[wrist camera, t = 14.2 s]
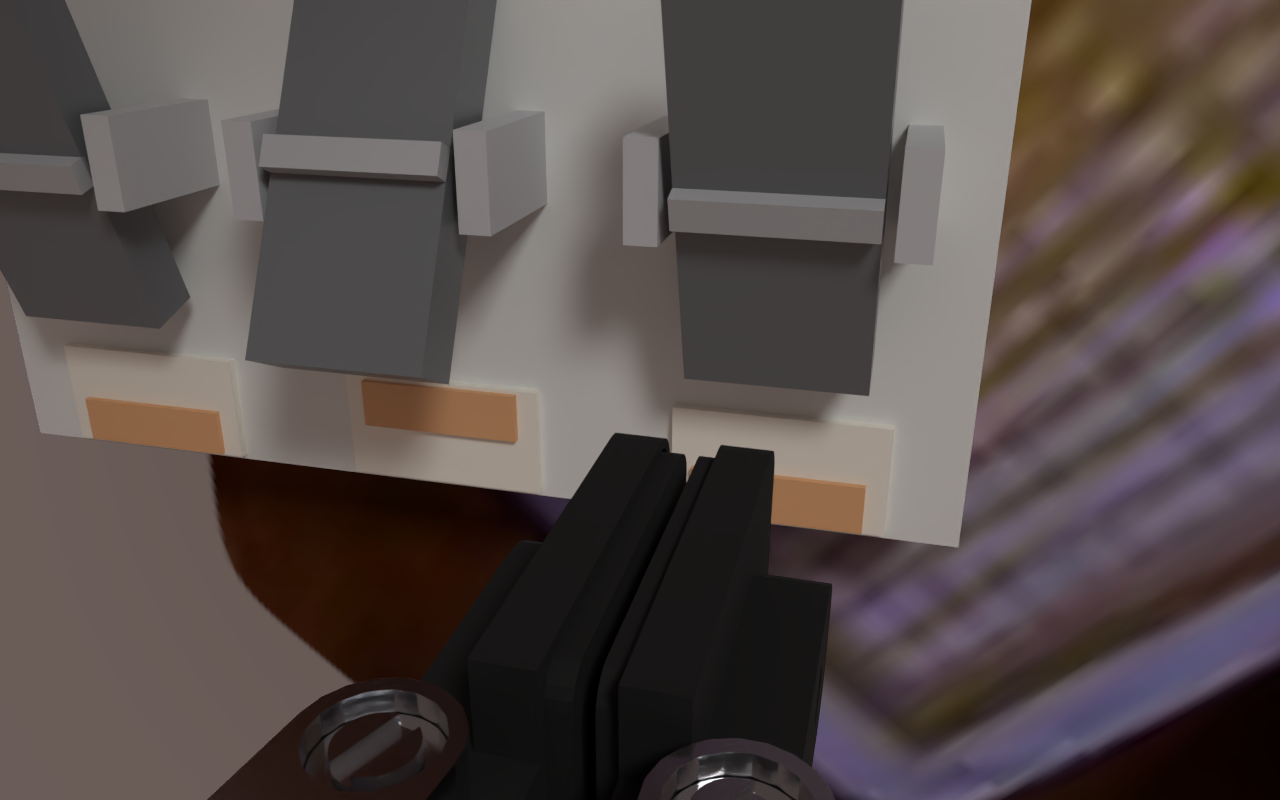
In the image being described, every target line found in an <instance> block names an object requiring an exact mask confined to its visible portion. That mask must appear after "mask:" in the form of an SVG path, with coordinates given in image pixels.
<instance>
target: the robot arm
mask: <svg viewBox="0 0 1280 800" xmlns="http://www.w3.org/2000/svg"><path fill="white" fill-rule="evenodd" d="M774 465H775V457H774V451H770V450H761V449H753V448H744V447H736V446H727V445H721V446H720V447H719V449H718V452H717V454H716V456H715V458H712V457H704V456H699V457H698V459H697V461H696V463H695V465H694V468H693V470H692V472H691V474H690V476H689V478H688V481H687V483H686V476H687V462H686V456H685V454H679V453H670V448H669V442H668V440H667V439H666V438H658V437H650V436H641V435H632V434H624V433H614V434H613V435H612V437H611V438H610V440H609V441H608V443H607V444H606V446H605V447H604V449H603V451H602V452H601V454H600V455H599V457H598V458H597V460H596V461H595V463H594V464H593V466H592V467H591V469H590V471H589V472H588V474H587V475H586V477H585V478H584V480H583V481H582V483H581V484H580V486H579V488H578V489H577V491H576V492H575V494H574V495H573V497H572V498H571V500H570V501H569V503H568V504H567V506H566V508H565V509H564V511H563V512H562V514H561V515H560V517H559V518H558V520H557V521H556V523H555V524H554V526H553V528H552V529H551V531H550V532H549V534H548V535H547V537H546V538H545V540H544V541H543V543H542V542H535V541H528V540H523V541H519V542H518V543H517V544H516V545H515V546H514V547H513V548H512V549H511V551H510V552H509V554H508V555H507V557H506V558H505V560H504V561H503V562H502V564H501V565H500V567H499V568H498V570H497V571H496V573H495V574H494V575H493V577H492V578H491V580H490V581H489V583H488V584H487V586H486V587H485V588H484V590H483V591H482V593H481V594H480V596H479V597H478V599H477V600H476V601H475V603H474V604H473V606H472V607H471V609H470V610H469V612H468V613H467V614H466V616H465V617H464V619H463V620H462V622H461V623H460V625H459V626H458V627H457V629H456V630H455V632H454V633H453V635H452V636H451V637H450V639H449V640H448V642H447V643H446V645H445V646H444V648H443V649H442V650H441V652H440V653H439V655H438V656H437V658H436V659H435V661H434V662H433V663H432V665H431V666H430V668H429V669H428V671H427V672H426V674H425V675H424V676H423V678H422V679H421V681H418V680H412V679H407V678H383V679H372V680H368V681H364V682H359V683H355V684H351V685H347V686H345V687H343V688H340V689H338V690H336V691H334V692H331V693H329V694H327V695H325V696H322V697H321V698H319V699H318V700H317V701H315V702H314V703H313V704H311V705H310V706H308V707H307V708H306V709H304V710H303V711H302V712H300V713H299V714H298V715H297V716H296V717H295V718H294V719H293V720H292V721H291V722H289V723H288V725H286V726H285V727H284V728H283V729H282V730H281V731H280V732H279V733H278V734H277V735H276V736H274V737H273V738H272V739H271V740H270V741H269V742H268V743H267V744H266V745H265V746H264V747H263V748H262V749H261V750H260V751H258V752H257V753H256V754H255V755H254V756H253V757H252V758H251V759H250V760H249V761H248V762H247V763H246V764H245V765H244V766H242V767H241V768H240V769H239V770H238V771H237V772H236V773H235V774H234V775H233V776H232V777H231V778H230V779H229V780H227V781H226V782H225V783H224V784H223V785H222V786H221V787H220V788H219V789H218V790H217V791H216V792H215V793H214V794H213V795H211V796H210V797H209V798H208V799H207V800H835V799H834V796H833V793H832V791H831V790H830V789H829V787H828V786H827V784H826V783H825V782H824V780H823V779H822V778H821V776H820V775H819V774H818V772H817V771H816V770H814V769H813V768H812V762H813V756H814V749H815V742H816V735H817V728H818V721H819V713H820V705H821V697H822V689H823V680H824V671H825V661H826V651H827V641H828V630H829V619H830V608H831V596H832V584H829V583H822V582H815V581H808V580H801V579H794V578H787V577H780V576H773V575H768V562H769V546H770V531H771V515H772V499H773V483H774Z"/></svg>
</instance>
